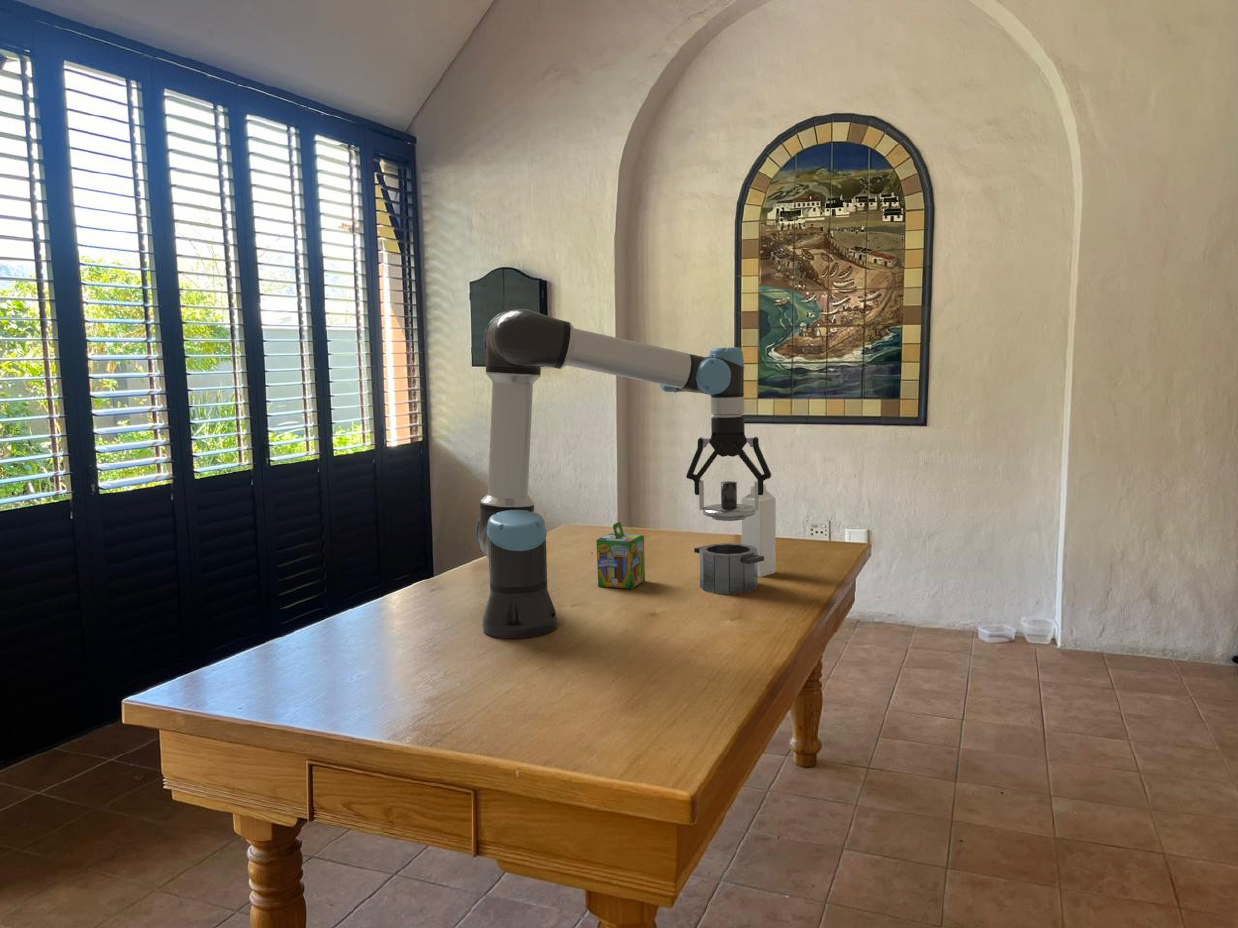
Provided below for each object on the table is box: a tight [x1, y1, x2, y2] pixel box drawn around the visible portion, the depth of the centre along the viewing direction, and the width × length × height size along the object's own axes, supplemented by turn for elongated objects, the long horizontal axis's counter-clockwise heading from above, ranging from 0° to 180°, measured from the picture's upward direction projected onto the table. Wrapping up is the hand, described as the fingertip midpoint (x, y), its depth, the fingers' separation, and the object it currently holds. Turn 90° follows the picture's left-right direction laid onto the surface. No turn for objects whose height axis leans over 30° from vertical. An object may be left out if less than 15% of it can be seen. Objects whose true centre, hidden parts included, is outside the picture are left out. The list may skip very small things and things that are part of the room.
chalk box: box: [596, 521, 646, 590], centre depth 225 cm, size 9×9×15 cm
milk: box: [741, 483, 777, 578], centre depth 232 cm, size 6×6×22 cm
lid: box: [702, 480, 755, 522], centre depth 216 cm, size 12×12×8 cm
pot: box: [693, 542, 764, 595], centre depth 220 cm, size 13×18×9 cm
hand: (729, 509), depth 216 cm, fingers closed on lid, 12 cm apart
